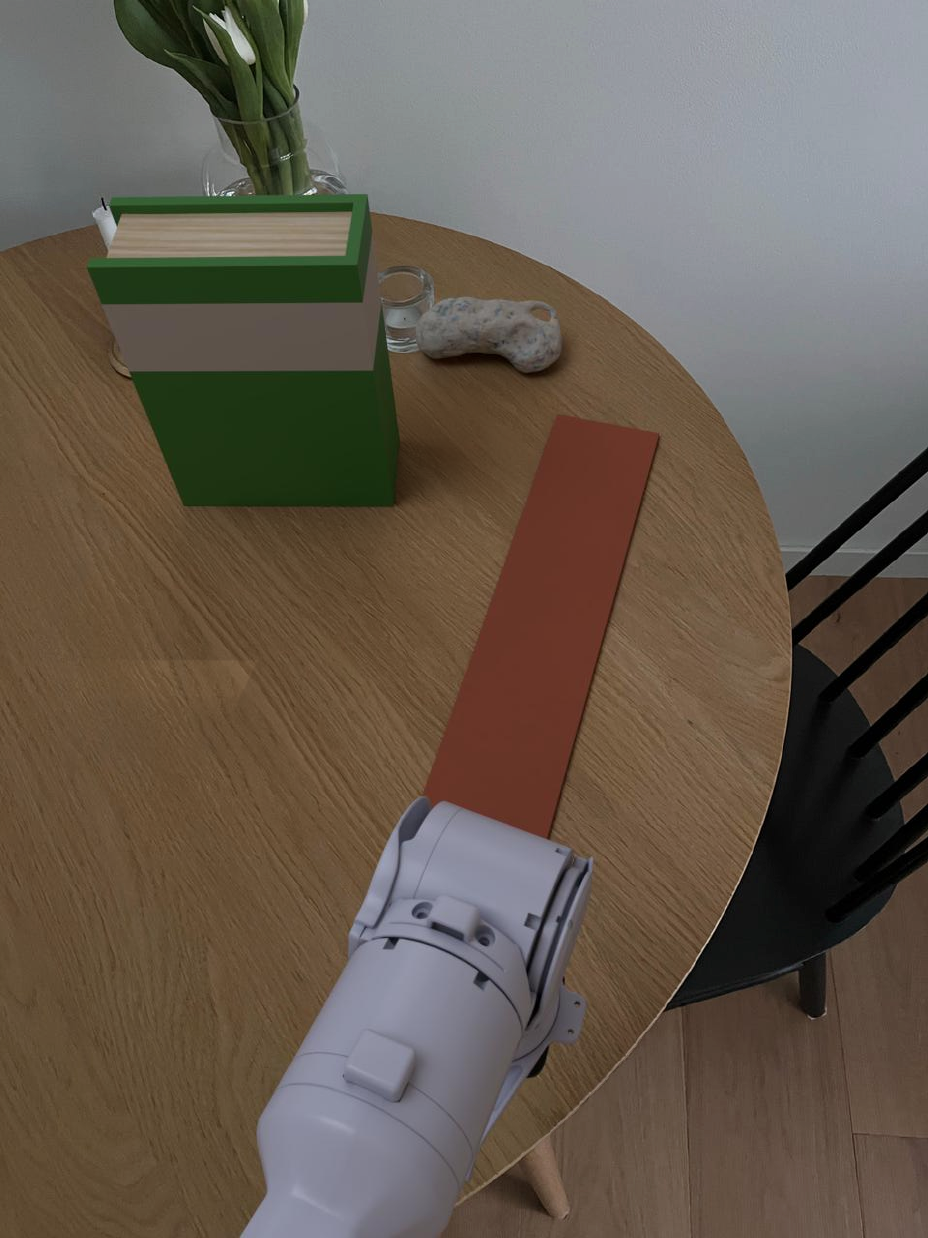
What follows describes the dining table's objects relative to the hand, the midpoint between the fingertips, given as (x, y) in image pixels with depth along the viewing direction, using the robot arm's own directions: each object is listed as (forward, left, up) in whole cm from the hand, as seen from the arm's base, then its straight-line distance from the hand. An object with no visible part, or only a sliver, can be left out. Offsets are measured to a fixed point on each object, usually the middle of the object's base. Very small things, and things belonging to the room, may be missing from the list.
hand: (500, 1032), depth 54 cm
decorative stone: (+59, +18, -11) cm, 62 cm away
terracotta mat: (+30, +6, -10) cm, 32 cm away
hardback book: (+41, +30, -11) cm, 52 cm away
